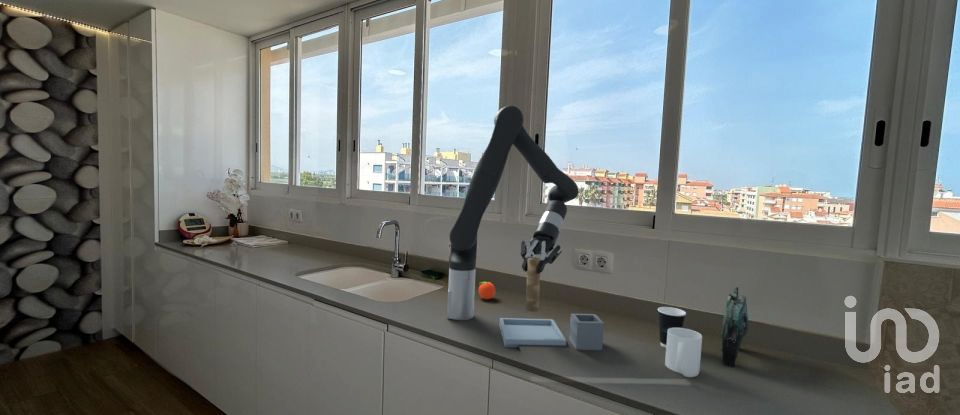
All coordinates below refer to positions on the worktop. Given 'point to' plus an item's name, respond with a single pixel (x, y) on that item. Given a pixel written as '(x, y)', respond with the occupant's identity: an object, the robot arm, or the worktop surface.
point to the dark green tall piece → (734, 327)
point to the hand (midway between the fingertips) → (531, 271)
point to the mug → (683, 351)
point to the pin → (532, 285)
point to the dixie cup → (669, 321)
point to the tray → (530, 332)
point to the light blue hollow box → (586, 332)
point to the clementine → (486, 290)
